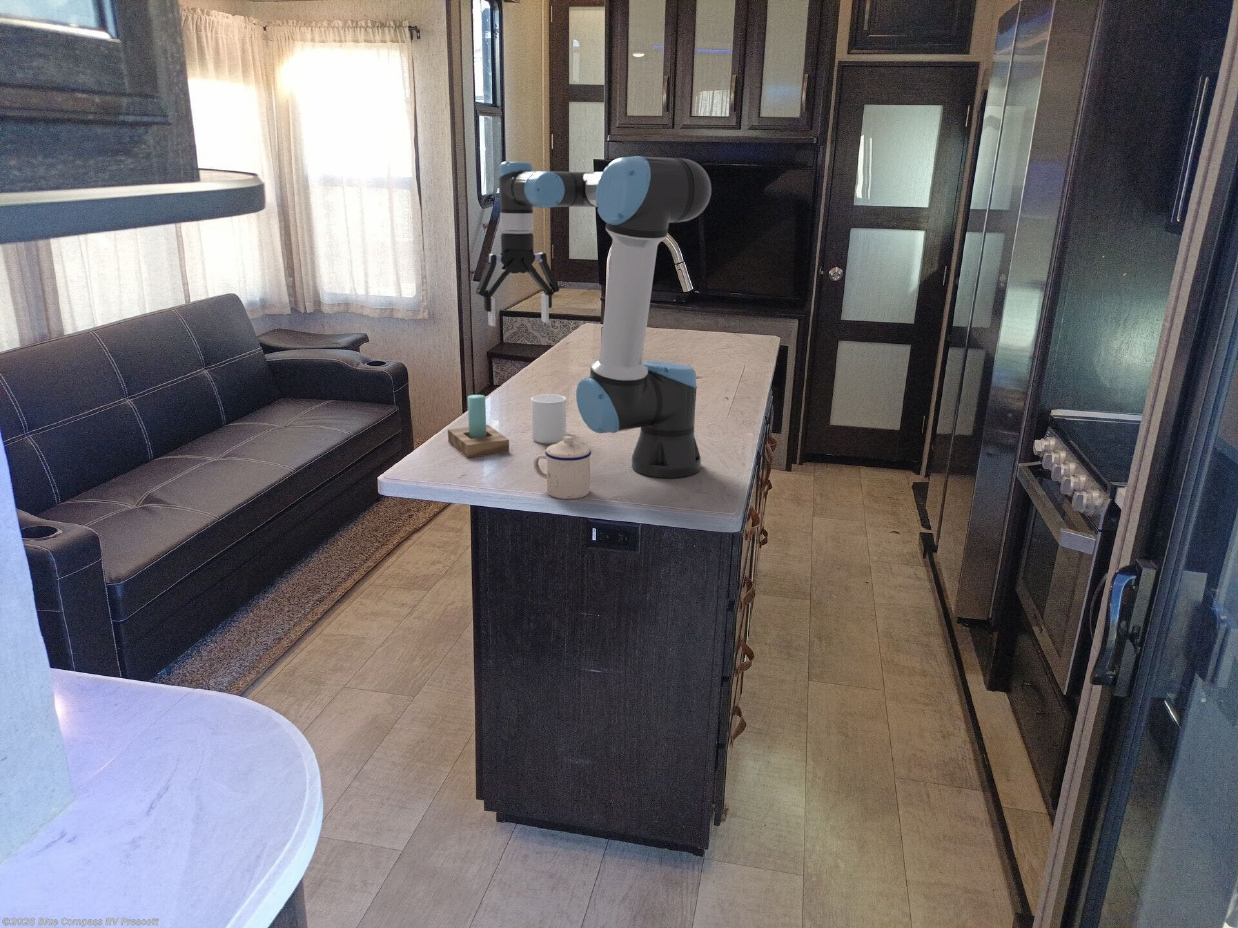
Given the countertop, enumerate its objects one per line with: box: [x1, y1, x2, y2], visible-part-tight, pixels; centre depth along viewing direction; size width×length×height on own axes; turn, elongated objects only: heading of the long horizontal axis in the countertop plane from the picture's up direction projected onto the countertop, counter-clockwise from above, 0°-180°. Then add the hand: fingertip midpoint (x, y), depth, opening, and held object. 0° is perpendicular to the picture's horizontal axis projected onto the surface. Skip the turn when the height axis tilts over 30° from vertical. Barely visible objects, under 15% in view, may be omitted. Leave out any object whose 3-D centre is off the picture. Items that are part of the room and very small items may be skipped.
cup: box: [530, 393, 567, 445], centre depth 212 cm, size 8×12×10 cm
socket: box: [447, 424, 510, 459], centre depth 204 cm, size 14×10×3 cm
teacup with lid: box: [533, 435, 592, 500], centre depth 175 cm, size 12×9×12 cm
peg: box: [467, 394, 487, 439], centre depth 203 cm, size 4×4×12 cm
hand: (518, 323), depth 209 cm, fingers open, 13 cm apart
